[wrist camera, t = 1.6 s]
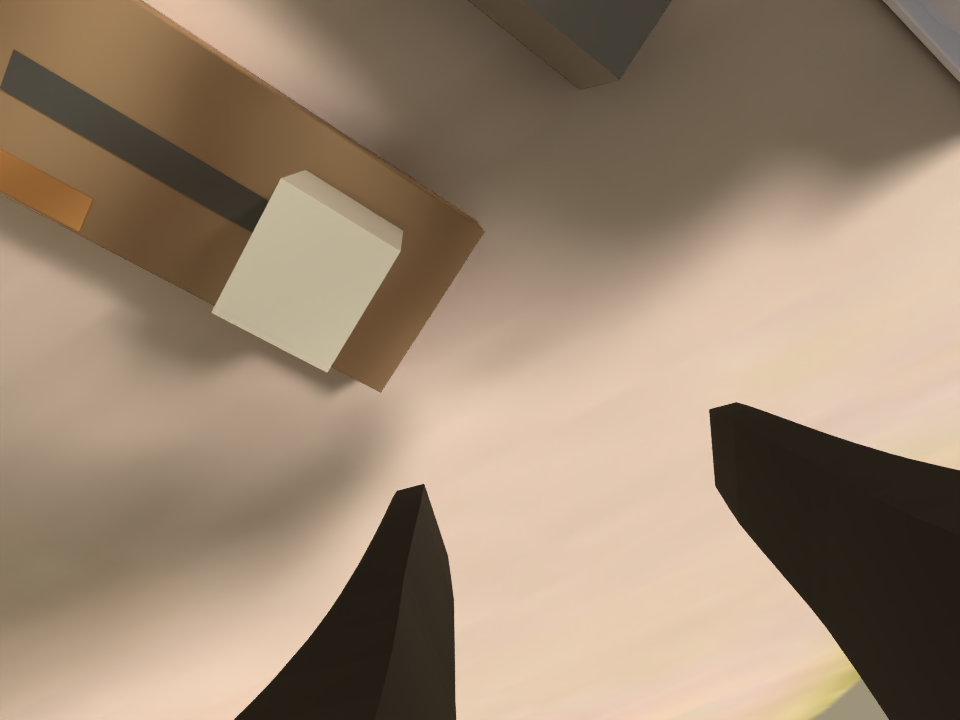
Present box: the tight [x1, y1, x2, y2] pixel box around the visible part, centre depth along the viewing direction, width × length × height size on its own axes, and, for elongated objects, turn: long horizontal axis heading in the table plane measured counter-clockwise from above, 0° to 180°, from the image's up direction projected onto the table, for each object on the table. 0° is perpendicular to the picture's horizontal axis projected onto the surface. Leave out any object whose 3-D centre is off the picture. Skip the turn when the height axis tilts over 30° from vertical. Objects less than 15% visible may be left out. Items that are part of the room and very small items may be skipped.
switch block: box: [0, 0, 484, 392], centre depth 16 cm, size 14×6×2 cm, turn 57°
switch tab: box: [211, 170, 403, 373], centre depth 15 cm, size 3×4×3 cm
